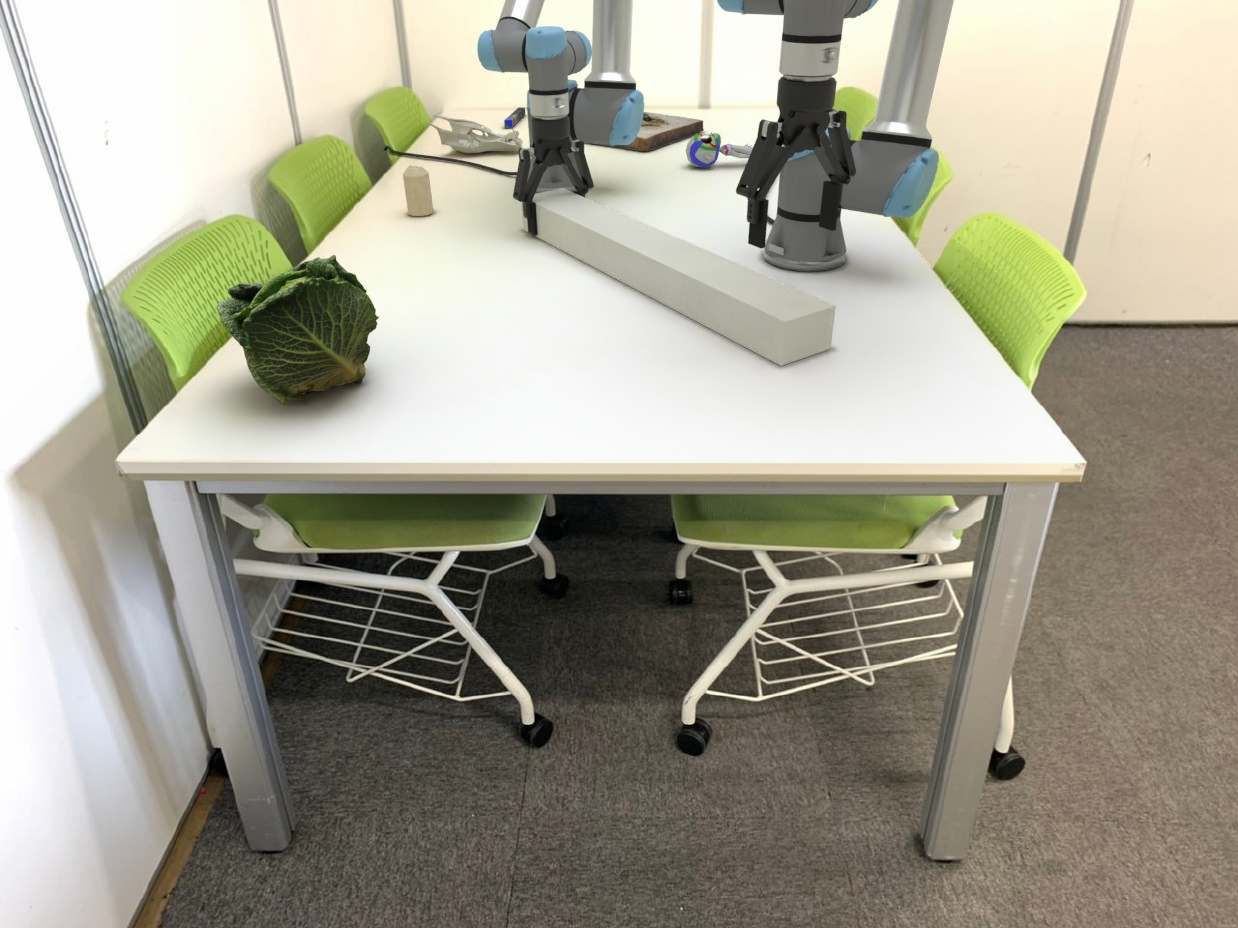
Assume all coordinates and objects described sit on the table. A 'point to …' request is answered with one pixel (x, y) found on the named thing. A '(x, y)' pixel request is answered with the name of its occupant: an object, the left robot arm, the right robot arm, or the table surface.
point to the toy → (712, 150)
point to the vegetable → (302, 328)
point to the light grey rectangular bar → (688, 278)
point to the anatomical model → (476, 137)
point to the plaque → (662, 131)
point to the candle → (418, 191)
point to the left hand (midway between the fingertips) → (555, 228)
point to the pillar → (514, 117)
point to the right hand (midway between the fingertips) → (792, 237)
